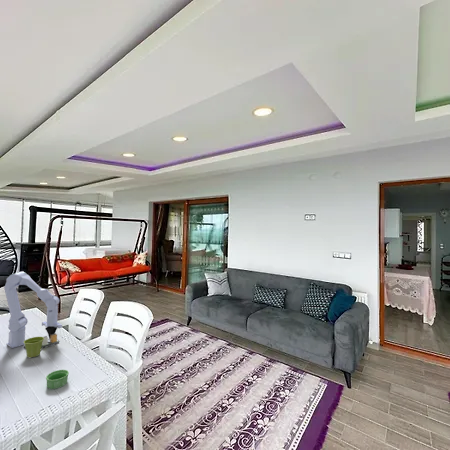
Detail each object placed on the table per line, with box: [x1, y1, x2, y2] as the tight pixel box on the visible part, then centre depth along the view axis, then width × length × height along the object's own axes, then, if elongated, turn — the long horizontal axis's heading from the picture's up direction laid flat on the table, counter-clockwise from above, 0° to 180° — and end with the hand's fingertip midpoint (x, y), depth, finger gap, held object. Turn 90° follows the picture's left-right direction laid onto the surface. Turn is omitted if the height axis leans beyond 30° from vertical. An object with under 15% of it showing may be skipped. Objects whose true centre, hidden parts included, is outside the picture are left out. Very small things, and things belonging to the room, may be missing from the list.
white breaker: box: [42, 335, 49, 345], centre depth 160 cm, size 3×3×4 cm
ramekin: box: [45, 369, 70, 390], centre depth 122 cm, size 9×9×4 cm
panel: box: [23, 337, 60, 350], centre depth 162 cm, size 10×15×2 cm, turn 146°
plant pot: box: [24, 336, 44, 358], centre depth 149 cm, size 9×9×9 cm
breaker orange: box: [50, 332, 58, 342], centre depth 164 cm, size 3×3×4 cm
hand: (51, 337), depth 166 cm, fingers closed
